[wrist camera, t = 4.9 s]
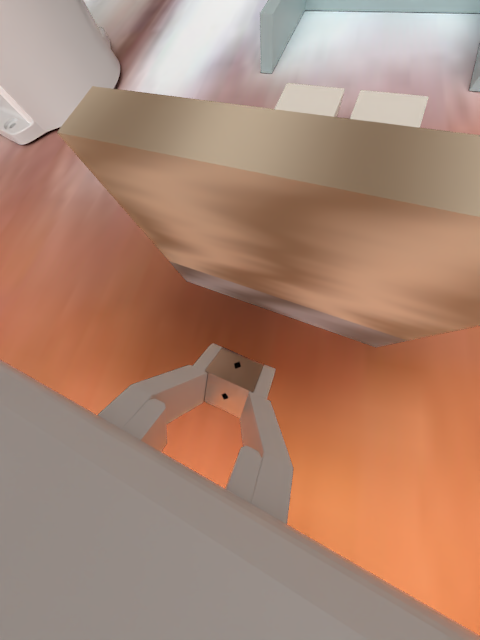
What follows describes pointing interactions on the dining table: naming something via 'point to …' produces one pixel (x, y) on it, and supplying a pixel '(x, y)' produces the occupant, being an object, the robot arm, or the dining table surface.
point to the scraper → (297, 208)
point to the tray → (291, 3)
